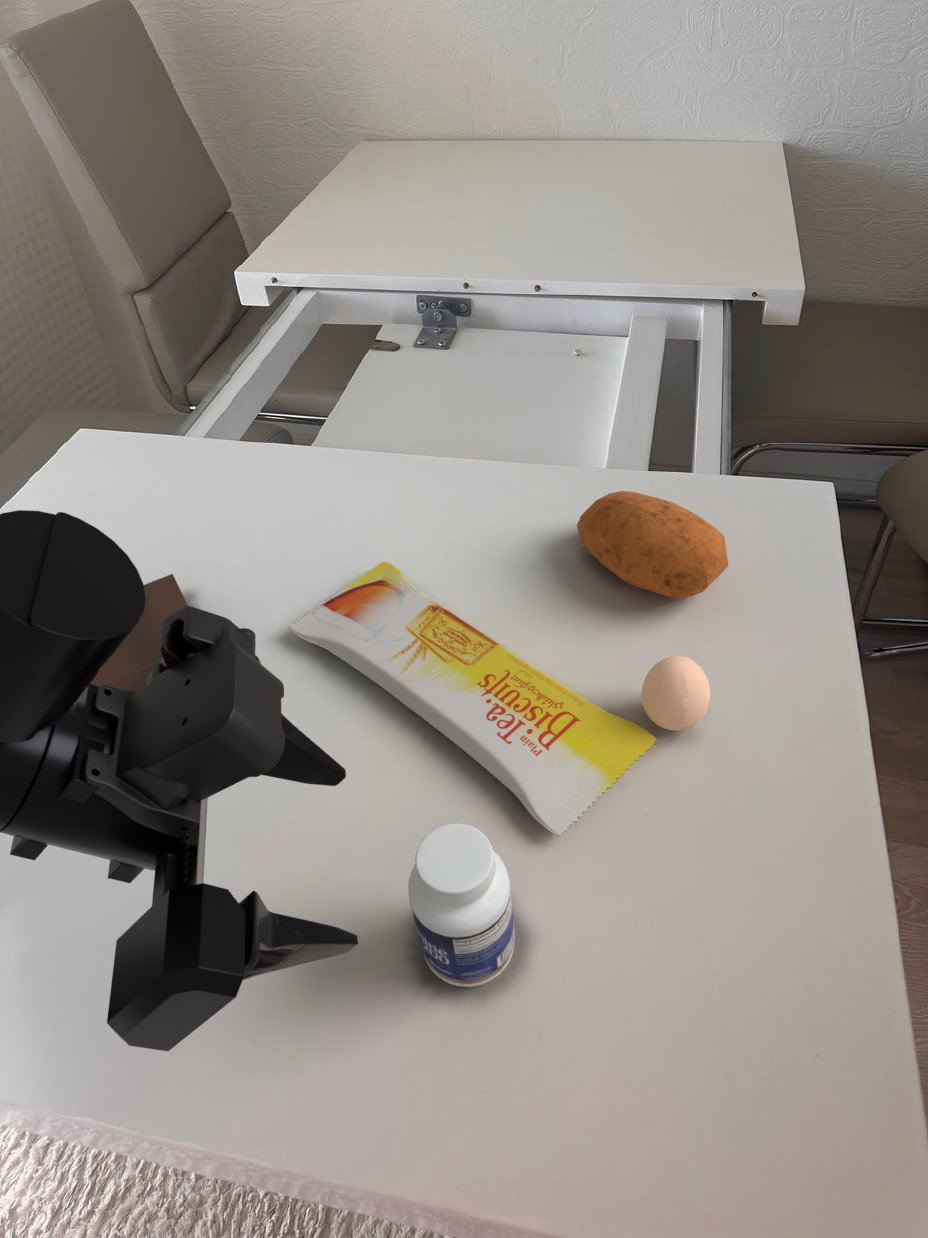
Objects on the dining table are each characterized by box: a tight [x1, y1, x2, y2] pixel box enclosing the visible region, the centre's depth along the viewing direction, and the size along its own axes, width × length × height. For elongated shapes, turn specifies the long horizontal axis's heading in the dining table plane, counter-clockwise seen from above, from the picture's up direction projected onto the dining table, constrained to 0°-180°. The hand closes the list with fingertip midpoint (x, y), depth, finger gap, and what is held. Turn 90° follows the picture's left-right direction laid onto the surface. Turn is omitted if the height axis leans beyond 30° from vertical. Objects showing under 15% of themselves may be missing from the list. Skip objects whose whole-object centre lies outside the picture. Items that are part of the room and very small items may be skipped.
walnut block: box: [90, 573, 189, 692], centre depth 72 cm, size 9×9×3 cm
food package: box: [289, 560, 658, 837], centre depth 67 cm, size 27×2×10 cm
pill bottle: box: [407, 823, 516, 988], centre depth 51 cm, size 5×5×10 cm
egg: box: [640, 655, 711, 732], centre depth 63 cm, size 4×4×6 cm
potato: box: [576, 490, 729, 599], centre depth 73 cm, size 7×13×7 cm, turn 37°
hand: (346, 855), depth 46 cm, fingers open, 9 cm apart
